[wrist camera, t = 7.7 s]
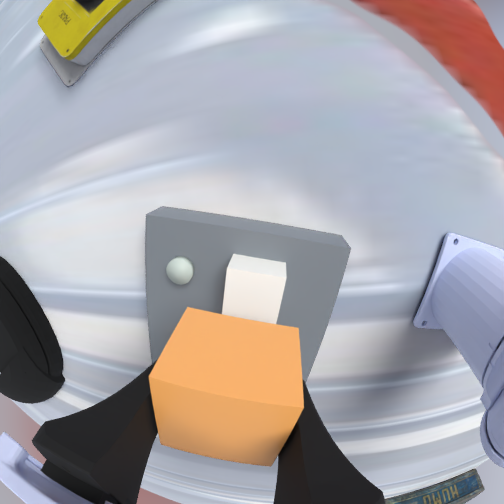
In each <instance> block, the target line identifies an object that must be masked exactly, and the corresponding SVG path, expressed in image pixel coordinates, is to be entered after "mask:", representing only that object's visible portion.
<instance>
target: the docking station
mask: <svg viewBox="0 0 504 504" xmlns="http://www.w3.org/2000/svg"><path fill="white" fill-rule="evenodd" d="M62 370H63V359H62V355H61V351H60V348H59V345H58V342H57V340H56V337H55V335H54V333H53V330H52V328H51V326H50V324H49V322H48V320H47V318H46V316H45V315H44V313H43V311H42V309H41V307H40V305H39V304H38V302H37V301H36V299H35V297H34V296H33V294H32V292H31V291H30V290H29V288H28V287H27V285H26V284H25V283H24V281H23V280H22V278H21V277H20V276H19V275H18V273H17V272H16V271H15V270H14V268H13V267H12V266H11V265H10V264H9V263H8V262H7V261H6V260H5V259H3V258H2V257H0V372H1V374H0V392H1V393H2V394H4V395H5V396H7V397H9V398H11V399H12V400H15V401H18V402H22V403H32V404H33V403H38V402H42V401H45V400H47V399H49V398H51V397H53V395H54V394H55V393H56V392H57V391H58V390H59V389H60V388H61V387H62V385H63V383H64V381H65V378H64V377H63V375H62Z"/></svg>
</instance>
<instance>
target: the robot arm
mask: <svg viewBox="0 0 504 504" xmlns="http://www.w3.org/2000/svg"><path fill="white" fill-rule="evenodd" d="M455 239H456V241H455V243H454V240H455ZM423 321H424V323H422V322H423ZM413 324H414V326H415V327H416V328H428V329H444V331H445V332H446V333H447V335H448V336H449V337H450V339H451V340H452V342H453V343H454V344H455V346H456V347H457V349H458V350H459V352H460V353H461V354H462V356H463V357H464V359H465V360H466V362H467V363H468V365H469V366H470V368H471V369H472V371H473V372H474V374H475V376H476V377H477V379H478V380H479V382H480V384H481V385H482V387H483V388H484V392H483V395H482V396H481V398H480V400H481V401H482V403H483V405H484V407H485V409H486V411H485V413H484V415H483V417H482V420H481V425H480V437H481V442H482V445H483V448H484V450H485V452H486V454H487V455H488V457H489V458H490V459H491V460H492V461H493V462H494V463H495V464H497V465H498V466H501V467H503V468H504V250H503V249H500V248H497V247H494V246H491V245H488V244H485V243H482V242H479V241H476V240H473V239H470V238H467V237H464V236H461V235H457V234H454V233H447V234H446V236H445V238H444V241H443V245H442V248H441V251H440V254H439V257H438V260H437V263H436V266H435V269H434V272H433V274H432V277H431V280H430V282H429V285H428V288H427V290H426V293H425V295H424V297H423V300H422V302H421V305H420V307H419V309H418V312H417V314H416V316H415V318H414V321H413ZM157 360H158V359H157ZM157 360H156V361H155V362H154V363H153V364H152V365H151V366H149V367H148V368H147V369H146V370H145V371H144V372H143V373H141V374H140V375H139V376H138V377H137V378H135V379H134V380H133V381H132V382H130V383H129V384H128V385H126V386H125V387H124V388H122V389H121V390H119V391H118V392H116V393H115V394H113V395H112V396H110V397H108V398H107V399H105V400H103V401H101V402H99V403H97V404H96V405H94V406H92V407H89V408H87V409H85V410H82V411H80V412H77V413H74V414H72V415H69V416H66V417H62V418H58V419H54V420H50V421H46V422H45V423H44V424H43V425H42V426H41V428H40V429H39V431H38V432H37V434H36V435H35V437H34V438H33V440H32V443H33V445H34V446H35V447H36V448H37V450H39V451H40V453H41V454H42V455H43V456H44V457H45V458H46V459H47V460H46V462H45V463H44V465H43V464H42V463H40V462H39V461H37V460H36V459H35V458H33V457H32V456H31V455H29V454H28V452H27V451H26V450H25V449H24V448H23V447H22V446H21V445H20V444H18V443H17V442H16V441H15V440H14V439H12V438H11V437H10V436H9V435H8V434H7V433H6V432H3V433H2V435H1V436H0V480H1V481H2V482H3V483H4V484H5V485H6V486H7V487H8V488H9V489H10V490H11V491H13V492H14V493H15V494H16V495H17V496H18V497H19V498H20V499H22V500H23V501H24V502H25V503H27V504H136V503H137V498H138V493H139V489H140V485H141V482H142V478H143V474H144V471H145V467H146V464H147V461H148V457H149V454H150V451H151V448H152V445H153V443H154V440H155V438H156V435H157V433H158V429H157V424H156V419H155V413H154V408H153V402H152V396H151V389H150V383H149V375H150V373H151V371H152V369H153V368H154V366H155V364H156V362H157ZM302 382H303V399H304V408H303V410H302V412H301V414H300V416H299V418H298V420H297V422H296V424H295V426H294V428H293V429H292V431H291V433H290V435H289V437H288V439H287V440H286V442H285V444H284V446H283V447H282V449H281V451H280V453H279V454H278V475H277V484H276V491H275V498H274V504H385V499H384V496H383V492H382V491H381V490H380V489H378V488H377V487H376V486H375V485H373V484H372V483H371V482H370V481H368V480H367V479H366V478H365V477H364V476H363V475H362V474H361V473H360V472H359V471H358V470H357V469H356V468H355V467H354V466H353V465H352V464H351V463H350V461H349V460H348V459H347V458H346V457H345V456H344V454H343V453H342V452H341V451H340V449H339V448H338V446H337V445H336V444H335V442H334V441H333V439H332V438H331V436H330V434H329V433H328V431H327V429H326V428H325V426H324V424H323V422H322V420H321V418H320V416H319V414H318V412H317V410H316V408H315V406H314V404H313V402H312V399H311V397H310V394H309V392H308V389H307V387H306V384H305V381H304V380H303V379H302Z"/></svg>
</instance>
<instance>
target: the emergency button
mask: <svg viewBox="0 0 504 504" xmlns="http://www.w3.org/2000/svg"><path fill="white" fill-rule="evenodd" d="M156 1H158V0H52V1H51V3H50V4H49V5H48V6H47V7H46V8H45V10H44V11H43V12H42V13H41V15H40V16H39V19H38V24H39V26H40V27H41V29H42V30H43V32H44V33H45V35H44V36H43V38H42V40H41V43H40V48H41V50H42V51H43V53H44V54H45V56H46V57H47V59H48V60H49V62H50V63H51V65H52V66H53V68H54V69H55V71H56V72H57V74H58V75H59V77H60V78H61V80H62V81H63V83H64V84H65V85H67V86H71V85H74V84H75V83H76V82H77V81H78V80H79V78H80V77H81V76H82V75H83V73H84V72H85V71H86V70H87V69H88V67H89V66H90V65H91V64H92V63H93V61H94V60H95V59H96V58H97V57H98V56H99V55H100V54H101V52H102V51H103V50H104V49H105V48H106V47H107V46H108V45H109V44H110V43H111V42H112V41H113V40H114V39H115V38H116V37H117V36H118V35H119V34H120V33H121V32H122V31H123V30H124V29H125V28H126V27H127V26H128V25H129V24H130V23H132V22H133V21H134V20H135V19H136V18H137V17H138V16H139V15H141V14H142V13H143V12H144V11H145V10H146V9H148V8H149V7H150V6H151V5H153V4H154V3H155V2H156Z"/></svg>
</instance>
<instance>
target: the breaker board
mask: <svg viewBox="0 0 504 504" xmlns="http://www.w3.org/2000/svg"><path fill="white" fill-rule="evenodd" d="M350 250H351V248H350V246H349V245H348V243H347V242H346V241H345V239H344V238H343V237H342V236H341V235H336V234H331V233H326V232H320V231H315V230H309V229H304V228H298V227H293V226H287V225H281V224H275V223H269V222H264V221H257V220H251V219H245V218H239V217H233V216H226V215H220V214H213V213H206V212H199V211H193V210H185V209H178V208H171V207H164V206H162V207H160V208H158V209H156V210H154V211H152V212H150V213H148V214H146V232H145V265H146V296H147V313H148V326H149V338H150V348H151V357H152V364H153V363H154V362H155V361H156V360H157V359H158V358H159V357H160V355H161V353H162V351H163V349H164V348H165V346H166V344H167V342H168V340H169V339H170V337H171V335H172V333H173V332H174V330H175V328H176V326H177V324H178V323H179V321H180V319H181V317H182V316H183V314H184V312H185V310H186V309H187V307H190V308H195V309H199V310H204V311H209V312H213V313H218V314H223V315H228V316H233V317H238V318H244V319H249V320H254V321H260V322H266V323H272V324H278V325H284V326H290V327H297V328H299V339H300V352H301V366H302V379H303V380H304V381H305V383H306V381H307V378H308V376H309V373H310V371H311V368H312V366H313V363H314V361H315V358H316V355H317V353H318V350H319V347H320V345H321V342H322V339H323V336H324V334H325V331H326V328H327V325H328V322H329V319H330V316H331V313H332V310H333V307H334V304H335V301H336V298H337V295H338V292H339V288H340V285H341V282H342V279H343V275H344V272H345V268H346V265H347V261H348V258H349V254H350Z"/></svg>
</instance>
